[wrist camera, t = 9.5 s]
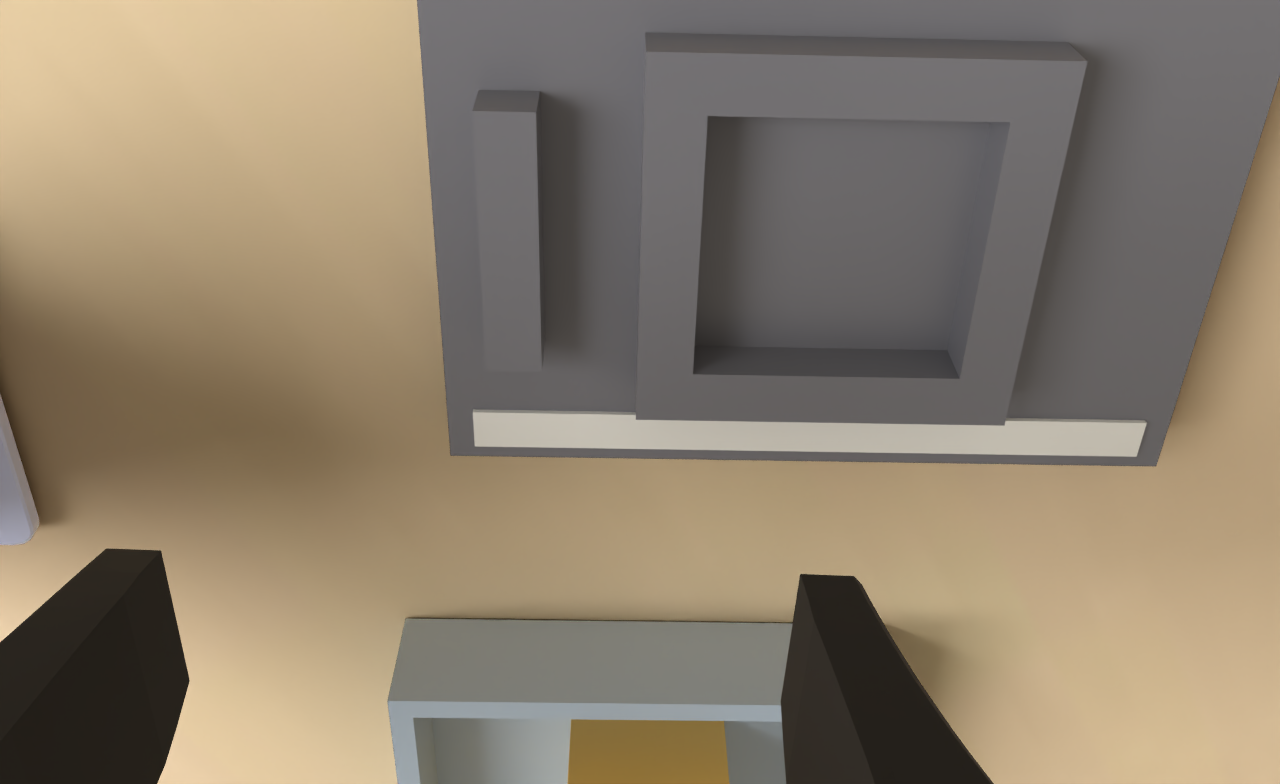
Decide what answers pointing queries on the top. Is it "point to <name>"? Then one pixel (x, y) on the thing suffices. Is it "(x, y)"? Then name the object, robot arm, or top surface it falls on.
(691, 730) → the block
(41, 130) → the top surface
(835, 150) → the grey socket base
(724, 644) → the parts tray
